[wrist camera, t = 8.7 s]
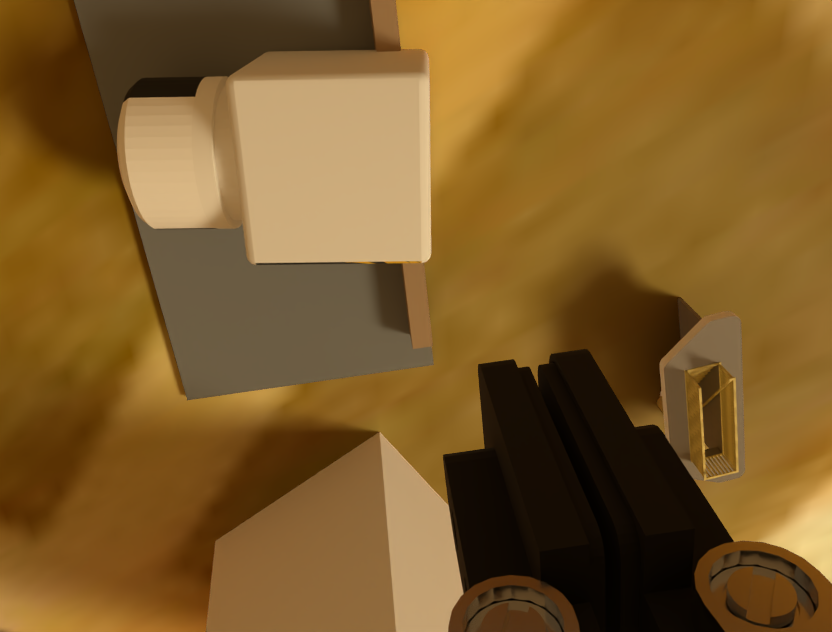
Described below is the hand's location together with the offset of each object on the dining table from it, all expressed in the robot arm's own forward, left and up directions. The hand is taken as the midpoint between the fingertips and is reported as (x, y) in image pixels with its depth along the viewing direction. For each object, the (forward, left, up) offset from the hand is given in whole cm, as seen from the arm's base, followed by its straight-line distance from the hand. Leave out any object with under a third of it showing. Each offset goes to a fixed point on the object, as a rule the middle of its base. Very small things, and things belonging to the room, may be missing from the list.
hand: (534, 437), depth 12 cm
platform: (-13, +15, -26) cm, 33 cm away
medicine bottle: (-1, +1, -21) cm, 21 cm away
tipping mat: (+6, +1, -25) cm, 26 cm away
